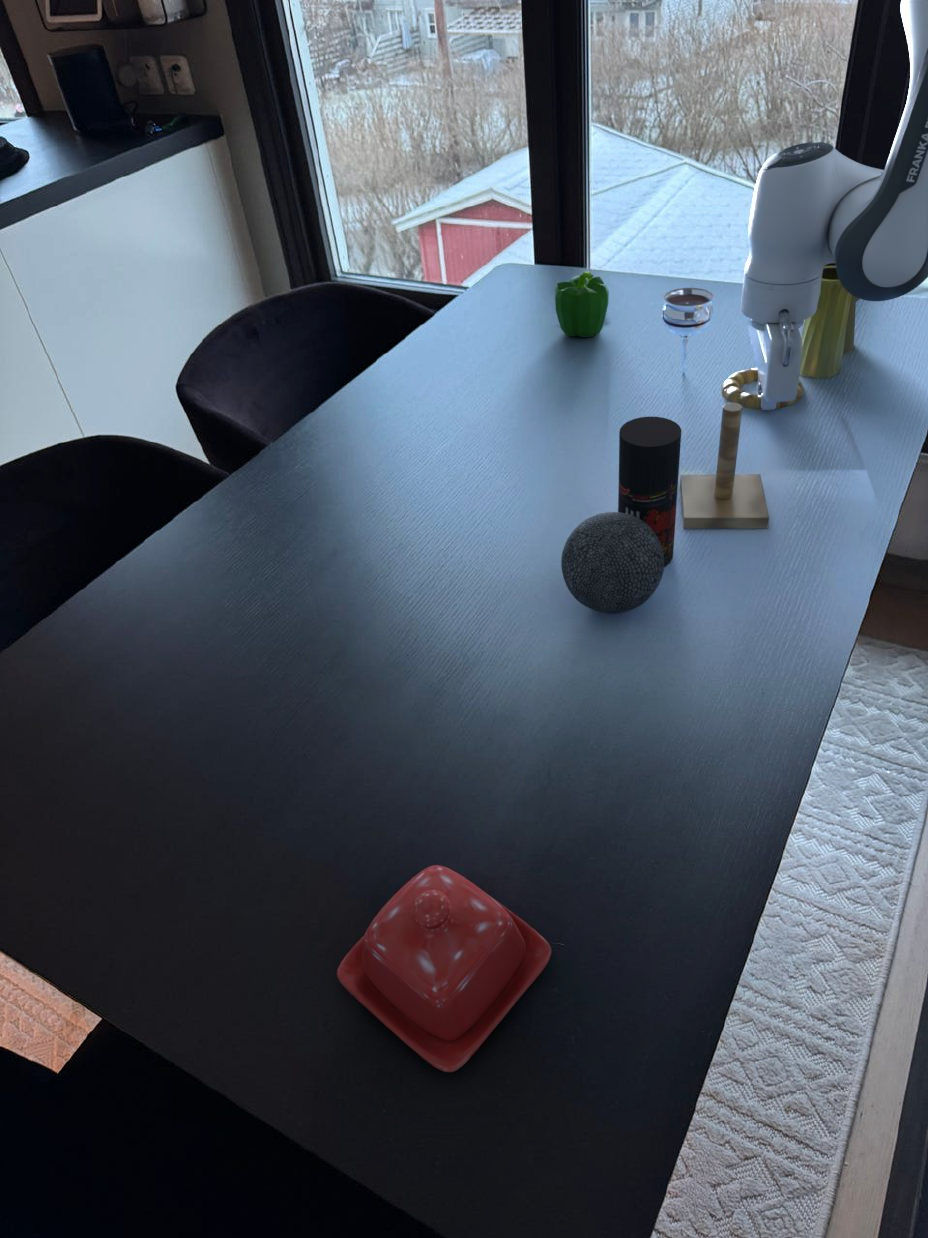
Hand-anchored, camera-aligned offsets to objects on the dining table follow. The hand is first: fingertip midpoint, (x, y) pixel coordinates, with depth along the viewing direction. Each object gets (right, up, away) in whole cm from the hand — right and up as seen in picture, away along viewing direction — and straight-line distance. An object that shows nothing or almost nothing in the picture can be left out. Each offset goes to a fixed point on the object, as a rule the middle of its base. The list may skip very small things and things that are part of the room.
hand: (765, 400), depth 115 cm
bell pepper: (-20, +17, +26) cm, 38 cm away
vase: (+9, +5, +7) cm, 13 cm away
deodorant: (-20, -22, -19) cm, 35 cm away
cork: (+13, +9, +12) cm, 20 cm away
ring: (+1, +2, +3) cm, 4 cm away
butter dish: (-41, -53, -53) cm, 85 cm away
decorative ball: (-24, -27, -25) cm, 44 cm away
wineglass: (-8, +5, +10) cm, 14 cm away
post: (-10, -16, -14) cm, 23 cm away
